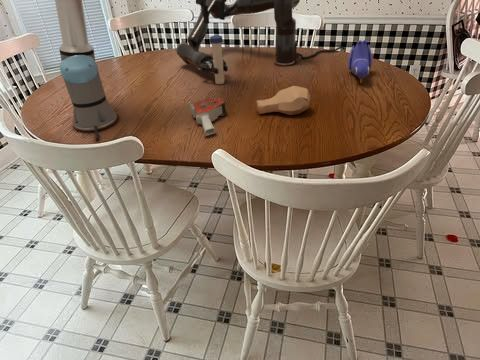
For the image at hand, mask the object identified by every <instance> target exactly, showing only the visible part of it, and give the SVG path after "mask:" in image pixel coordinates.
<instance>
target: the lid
mask: <svg viewBox="0 0 480 360" xmlns="http://www.w3.org/2000/svg"><path fill="white" fill-rule="evenodd" d="M223 40H224V39H223V36H222V35H219V34H217V35H215V34H214V35H211V36H209V43H211V44H212V43H221V44H222V43H223Z"/></svg>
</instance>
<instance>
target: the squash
mask: <svg viewBox="0 0 480 360" xmlns="http://www.w3.org/2000/svg"><path fill="white" fill-rule="evenodd" d="M311 98H312V97H311V95H310V90H309V89H307V88H306V87H302V86H298V85H292V86H289V87H287V88H283V89H280V90H279V91H277V92H276V94H275V95H274V96H272V97H271V98H265V99H257V100H256V102H255V103H256V107H257V109H256V110H257V113H258V114H259V115H263V114H266V113H273V112H275V113H282V114H284V115H287V116H295V115H300V114H301V113H303V112H305V111H306V110H308V109H309V107H310V102H311Z"/></svg>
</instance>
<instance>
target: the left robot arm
mask: <svg viewBox="0 0 480 360" xmlns="http://www.w3.org/2000/svg"><path fill="white" fill-rule="evenodd" d="M227 1H228V0H220V2H218V6H219V19H218V20H221V21H225V20H226V17H225V15H224V10H225V4H226V2H227ZM54 2H55V8H56V9H55V10H56V12H57V19H58V24H59V31H60V35H61V41H62V44H61V45H60V46H59V47H58V51H59V56H60V60H61V62H60V64H59V71H60V75H61V77H62V78H63V82H64V84H65V87H66V89H67V93H68V95H69V99H70V101H71V104H72V108H73V114H72V117H73V118H72V119H73V125H74V128H75V129H76V131H78V132H84V133H92V132H94V136H95V141H98V140H99V133H98V132H99V131H102V130H105V129H107V128H110V127H111V126H113V125H115V124H116V122H117V121H118V116H117V113H116V111H115V110H114V108H113V107H112V105H111V103H110V102H109V101H108V99H107V96H106V92H105V89H104V87H103V86H104V85H103V83H102V79H101V75H100V72H99V66H98V64H97V62H96V56H95V48H94V46H92V44H90V42H89V38H88V32H87V31H88V30H87V24H86V17H85V9H84V3H83V0H54ZM195 5H199V6H200V12H201V13H202V14H203V17H204V23H207V24H208V25H209V24H210V15H209V14H208V6H207V5H206V0H195Z"/></svg>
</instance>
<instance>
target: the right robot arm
mask: <svg viewBox="0 0 480 360" xmlns="http://www.w3.org/2000/svg"><path fill="white" fill-rule="evenodd" d="M218 2H220V0H206V5H207V6H208V14H209V16H211V17H212V18H213V19H216V20H217V19H218V20H220V19H219V6H218ZM300 2H301V0H235V1H234V2H233V3H231V4H227V3H225V10H224V15H225V18H229V17H233V16H240V15H251V14H258V13H262V12H266V11H269V10H273V17H274V18H273V19H274V22H275V65H277V66H282V67H287V66H293V65H294V64H295V63H296V62H297V59H299V58H301V60H302V59H303V60H306V59H307V60H308V59H311V58H312V57H315V56H316V55H318V54H320V53H332V52H336V51H338V50H340V49H341V50H346V47H344V46H338V47H336V48H334V49H321V50H317V51H316V52H315V53H312V54H310V55H307V56H303V54H301V53H300V52H298V51H297V48H298V47H297V46H298V45H297V44H298V43H297V41H296V31H297V30H296V29H297V21H296V18H294V17H293V9H295V8H296V7H297V6H298V5H299V3H300ZM208 25H209V24H207V23H204V17H203V14H202V13H201V11H200V12H199V15H198V17H197V19H196V22H195V24H194V26H193V28H192V29H191V31H190V33H189V34H188V35H187V38H186V40H187V42H182V43H179V44H178V45H177V46H176V49H175V52H176V54H177V56H178V57H179V58H180V59H181V61H183V63H185V64H186V65H192V66H194V67H195V68H196V69H197V72H200V73H203V74H209V73H211V74H214V73H215V74H218V69H217V68H215V67H214V64H213V55H210V54H208V53H205V52H203V51H200V46H201V45H202V43H203V41H204V40H205V37H206V35H207V32H208ZM223 69H224V72H228V69H229V68H228V66H227V62H226V61H225V60H224V59H223ZM215 74H214V75H215Z"/></svg>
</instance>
